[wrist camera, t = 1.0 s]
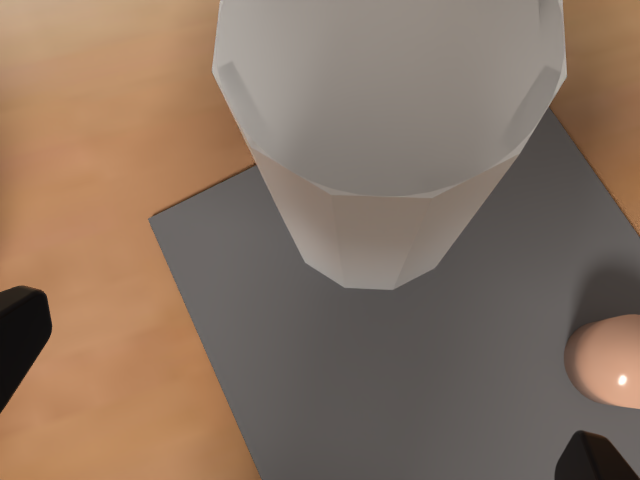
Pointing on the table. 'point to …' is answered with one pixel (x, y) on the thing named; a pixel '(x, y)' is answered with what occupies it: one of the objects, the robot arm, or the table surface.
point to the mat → (414, 330)
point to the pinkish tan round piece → (606, 361)
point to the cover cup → (385, 117)
